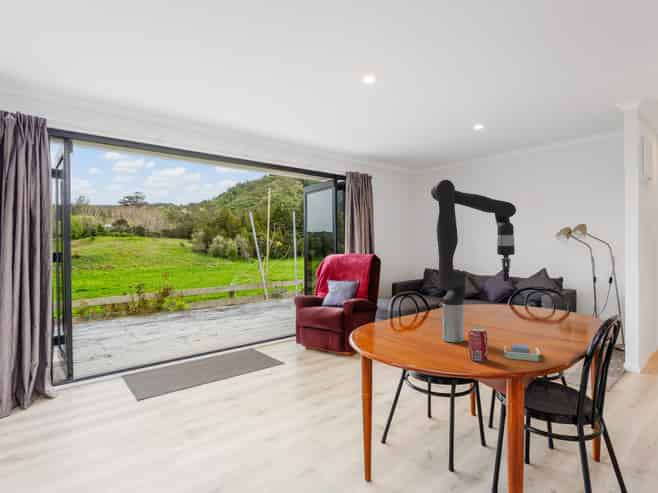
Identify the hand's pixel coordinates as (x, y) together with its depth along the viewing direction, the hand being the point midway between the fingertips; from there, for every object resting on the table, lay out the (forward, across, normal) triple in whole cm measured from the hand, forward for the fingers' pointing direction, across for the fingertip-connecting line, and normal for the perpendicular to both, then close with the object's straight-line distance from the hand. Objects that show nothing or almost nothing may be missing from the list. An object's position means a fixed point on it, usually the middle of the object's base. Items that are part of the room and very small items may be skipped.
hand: (506, 281), depth 182 cm
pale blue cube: (+27, -30, -5) cm, 41 cm away
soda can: (+27, -41, +11) cm, 51 cm away
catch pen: (+27, -30, -5) cm, 40 cm away
